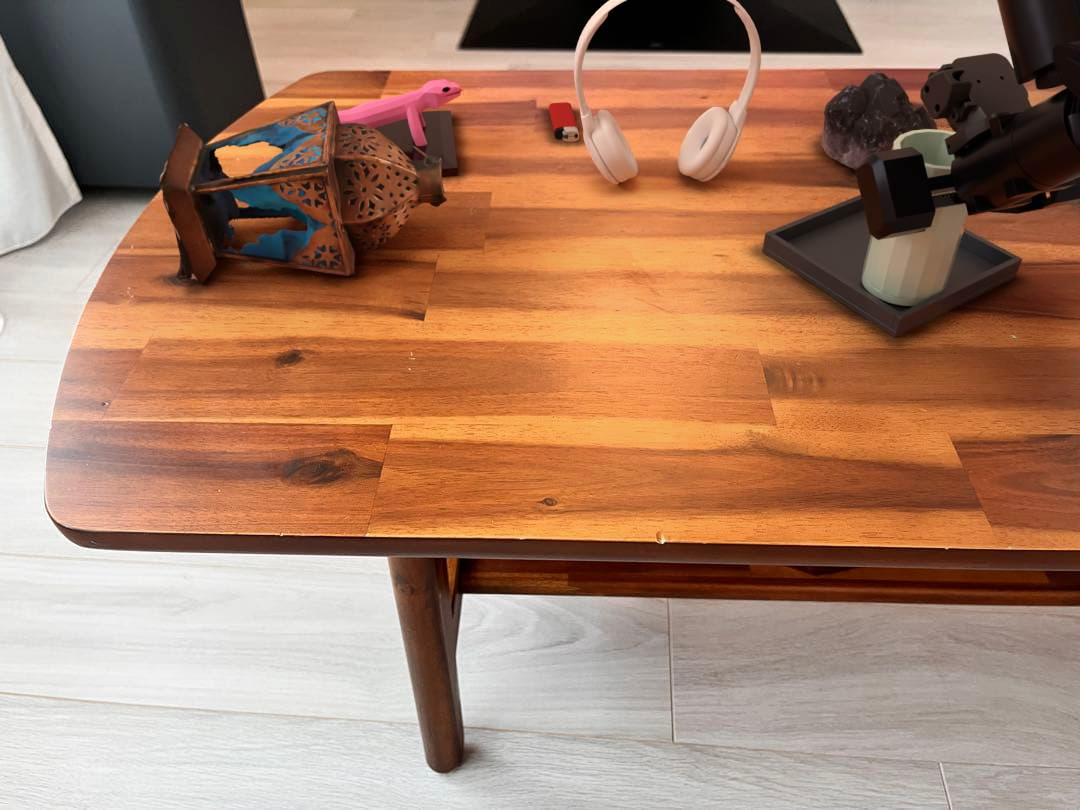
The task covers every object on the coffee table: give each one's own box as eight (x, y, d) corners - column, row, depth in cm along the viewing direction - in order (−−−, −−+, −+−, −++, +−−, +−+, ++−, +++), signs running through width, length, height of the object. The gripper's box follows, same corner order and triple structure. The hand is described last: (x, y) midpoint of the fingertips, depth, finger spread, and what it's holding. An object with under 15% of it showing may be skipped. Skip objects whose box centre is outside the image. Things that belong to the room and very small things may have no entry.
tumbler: (946, 310, 77) (992, 172, 68) (862, 301, 79) (896, 165, 70) (939, 266, 82) (981, 132, 74) (860, 258, 84) (892, 126, 75)
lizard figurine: (471, 174, 98) (467, 109, 93) (285, 187, 96) (271, 122, 91) (463, 117, 109) (459, 56, 104) (296, 127, 107) (283, 66, 102)
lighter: (571, 102, 109) (579, 131, 103) (571, 111, 110) (579, 141, 104) (548, 103, 109) (555, 132, 103) (548, 113, 109) (555, 142, 103)
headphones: (569, 165, 99) (572, -26, 86) (734, 160, 100) (762, -31, 86) (574, 198, 94) (578, -1, 81) (748, 192, 95) (780, -6, 81)
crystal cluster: (927, 136, 105) (943, 48, 99) (953, 182, 95) (972, 87, 89) (809, 138, 107) (818, 52, 101) (821, 184, 97) (832, 91, 91)
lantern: (212, 315, 90) (460, 283, 91) (149, 272, 74) (451, 234, 75) (196, 160, 92) (439, 131, 93) (131, 86, 76) (426, 51, 77)
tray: (1015, 278, 82) (1023, 258, 81) (894, 338, 76) (901, 318, 75) (878, 203, 93) (883, 185, 91) (761, 251, 86) (765, 232, 85)
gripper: (1130, 17, 64) (982, 105, 79) (902, 48, 60) (792, 134, 75) (1167, 168, 64) (1011, 227, 79) (940, 210, 60) (822, 263, 75)
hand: (911, 210), depth 77 cm, fingers closed on tumbler, 7 cm apart
